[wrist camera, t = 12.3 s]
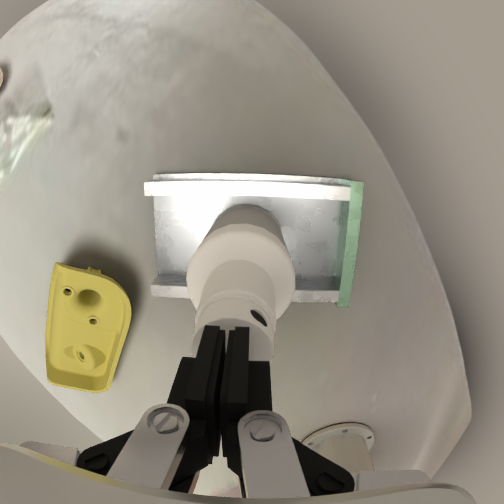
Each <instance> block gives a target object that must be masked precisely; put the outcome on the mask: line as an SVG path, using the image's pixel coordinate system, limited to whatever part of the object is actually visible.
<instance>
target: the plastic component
mask: <svg viewBox="0 0 504 504" xmlns="http://www.w3.org/2000/svg"><path fill="white" fill-rule="evenodd" d="M101 272H102V271H101V270H100V269H99V270H96V269H92V268H91V267H88V269H86V270H85V269H80V268H76V267H72V266H68V265H65V264H62V263H59V262H55V265H54V268H53V273H52V278H51V284H50V292H49V300H48V310H47V322H46V369H47V379H48V381H49V382H50V383H51V384H53V385H56V386H60V387H65V388H70V389H75V390H80V391H86V392H92V393H100V392H104V391H106V390H108V389H109V388H110V386H111V383H112V380H113V376H114V373H115V370H116V366H117V363H118V360H119V357H120V354H121V351H122V347H123V344H124V341H125V338H126V335H127V332H128V329H129V325H130V320H131V305H130V301H129V298H128V296H127V294H126V292H125V290H124V289H123V288H122V287H121V286H120V285H119V284H118V283H117V282H116V281H115V280H113V279H112V278H110V277H108V276H106V275H103V274H101ZM66 288H67V289H70V290H71V292H67V291H66V290H65V289H66ZM83 355H84V356H83Z"/></svg>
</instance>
